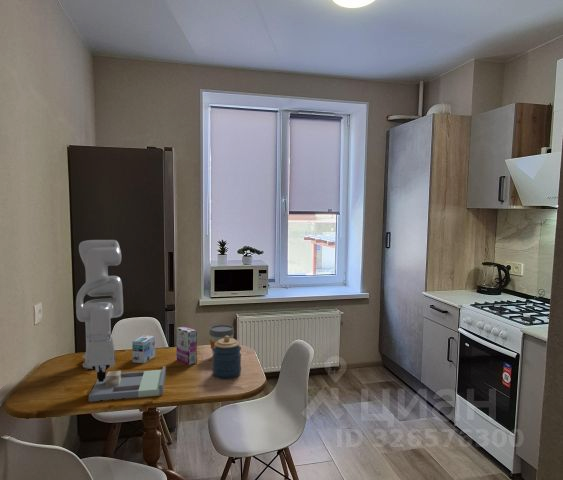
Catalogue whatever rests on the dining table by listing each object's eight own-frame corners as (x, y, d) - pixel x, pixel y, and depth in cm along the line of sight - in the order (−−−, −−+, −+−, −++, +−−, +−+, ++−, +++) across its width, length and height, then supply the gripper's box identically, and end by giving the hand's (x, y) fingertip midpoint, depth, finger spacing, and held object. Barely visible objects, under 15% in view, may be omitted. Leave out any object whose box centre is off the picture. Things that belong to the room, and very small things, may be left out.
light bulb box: (144, 363, 188) (144, 342, 187) (131, 362, 189) (131, 341, 188) (155, 356, 198) (155, 335, 198) (143, 355, 199) (143, 334, 199)
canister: (216, 381, 168) (216, 341, 167) (209, 370, 180) (209, 333, 179) (244, 376, 173) (245, 338, 172) (236, 366, 185) (236, 330, 184)
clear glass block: (105, 386, 157) (105, 376, 157) (108, 380, 162) (108, 371, 162) (118, 385, 158) (118, 375, 158) (121, 380, 163) (120, 370, 163)
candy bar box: (197, 363, 189) (197, 330, 188) (188, 365, 185) (188, 332, 185) (184, 357, 197) (184, 325, 196) (176, 360, 193) (175, 327, 192)
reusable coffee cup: (234, 352, 205) (234, 324, 204) (233, 361, 192) (233, 331, 191) (210, 352, 204) (210, 324, 203) (207, 361, 191) (207, 331, 190)
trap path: (88, 401, 149) (88, 391, 148) (100, 379, 169) (100, 371, 168) (162, 395, 155) (162, 385, 155) (165, 374, 175) (165, 366, 175)
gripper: (78, 340, 153) (79, 385, 153) (118, 338, 156) (119, 382, 157) (83, 334, 160) (84, 378, 161) (122, 332, 163) (122, 375, 164)
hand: (101, 380), depth 159 cm, fingers closed
